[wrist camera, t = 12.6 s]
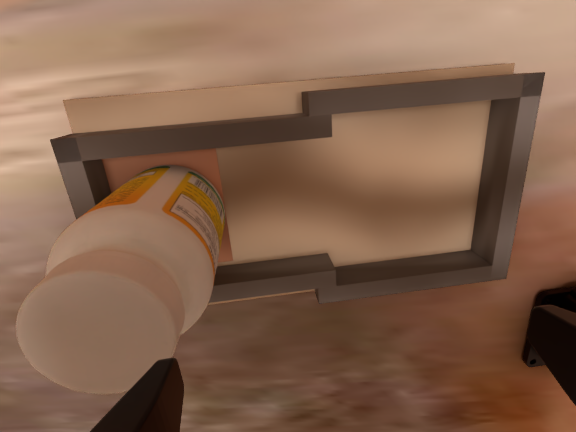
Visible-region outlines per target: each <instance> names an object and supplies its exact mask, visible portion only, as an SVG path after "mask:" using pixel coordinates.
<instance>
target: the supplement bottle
mask: <svg viewBox="0 0 576 432" xmlns="http://www.w3.org/2000/svg"><path fill="white" fill-rule="evenodd" d="M224 225H225V209H224V205H223V202H222V199H221V197H220V195H219V193H218V191H217V190H216V188H215V187H214V186H213V184H212V183H211V182H210V181H209V180H208V179H207V178H205V177H204V176H203V175H201V174H199V173H198V172H196V171H194V170H191V169H189V168H186V167H183V166H178V165H159V166H155V167H151V168H149V169H146V170H144V171H142V172H140V173H138V174H137V175H135V176H134V177H133V178H131V179H130V180H129V181H127V182H126V183H125V184H123V185H122V186H121V187H119V188H118V189H117V190H115V191H114V192H113V193H111V194H110V195H109V196H108V197H106V198H105V199H103V200H102V201H101V202H100V203H98V204H97V205H96V206H94V207H93V208H92V209H90V210H89V211H87V212H86V213H85V214H84V215H82V216H81V217H79V218H78V219H77V220H76V221H74V222H73V223H72V224H71V225H69V226H68V227H67V228H66V229H65V230H64V231H63V232H62V234H61V235H60V236H59V238H58V239H57V240H56V242H55V243H54V245H53V247H52V250H51V252H50V254H49V257H48V261H47V267H46V277H45V278H44V279H43V280H42V281H41V282H40V283H39V284H38V285H37V286H36V287H35V288H34V289H33V290H32V291H31V292H30V293H29V294H28V296H27V297H26V299H25V300H24V302H23V303H22V305H21V307H20V309H19V312H18V315H17V320H16V334H17V339H18V343H19V346H20V348H21V350H22V352H23V354H24V356H25V357H26V358H27V360H28V361H29V363H30V364H31V365H32V366H33V367H34V368H35V369H36V370H37V371H38V372H39V373H41V374H42V375H43V376H45V377H46V378H48V379H49V380H51V381H53V382H55V383H56V384H58V385H61V386H64V387H66V388H69V389H72V390H75V391H78V392H84V393H91V394H115V393H121V392H125V391H129V390H130V389H131V388H132V387H133V386H134V384H135V383H136V382H137V381H138V380H139V379H140V378H141V377H142V376H143V375H144V374H145V373H146V372H147V371H148V370H149V369H150V368H151V367H152V365H153V364H154V363H155V362H156V361H158V360H160V359H166V358H172V357H173V354H174V351H175V349H176V346H177V343H178V339H179V336H180V335H181V334H183V333H184V332H186V331H187V330H188V329H189V328H190V327H192V326H193V325H194V324H195V323H196V321H197V320H198V319H199V318H200V317H201V315H202V314H203V312H204V310H205V309H206V307H207V305H208V302H209V300H210V297H211V293H212V290H213V285H214V279H215V274H216V268H217V263H218V257H219V252H220V247H221V242H222V236H223V231H224Z"/></svg>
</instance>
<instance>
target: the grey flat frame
mask: <svg viewBox="0 0 576 432" xmlns="http://www.w3.org/2000/svg"><path fill="white" fill-rule="evenodd" d="M514 65H515V63H511V64H499V65H487V66H474V67H462V68H450V69H438V70H425V71H413V72H401V73H389V74H376V75H364V76H352V77H340V78H327V79H315V80H303V81H291V82H278V83H266V84H254V85H242V86H230V87H217V88H205V89H193V90H181V91H168V92H156V93H144V94H132V95H119V96H107V97H95V98H83V99H70V100H63V103H64V106H65V109H66V112H67V116H68V119H69V122H70V126H71V129H72V132H73V134H69V135H66V136H62V137H58V138H55V139H51V140H50V141H51V144H52V147H53V150H54V153H55V156H56V159H57V162H58V165H59V168H60V171H61V174H62V177H63V180H64V183H65V186H66V189H67V192H68V195H69V198H70V201H71V204H72V208H73V211H74V214H75V217H76V220H77V219H78V218H79V217H81V216H82V215H84V214H85V213H86V212H87V211H89V210H90V209H92V208H93V207H94V206H96V205H97V204H98V203H100V202H101V201H102V200H103V199H105V198H106V197H108V196H109V195H110V194H111V193H113V192H114V191H115V190H117V189H118V188H119V187H121V186H122V185H123V184H125V183H126V182H127V181H129V180H130V179H131V178H133V177H134V176H135V175H137V174H138V173H140V172H142V171H144V170H146V169H149V168H151V167H155V166H159V165H178V166H183V167H186V168H189V169H191V170H194V171H196V172H198V173H199V174H201V175H203V176H204V177H205V178H207V179H208V180H209V181H210V182H211V183H212V184H213V186H214V187H215V188H216V190H217V191H218V193H219V195H220V197H221V199H222V202H223V205H224V209H225V225H224V231H223V236H222V242H221V247H220V252H219V257H218V263H217V268H216V274H215V279H214V285H213V290H212V293H211V297H210V300H209V302H208V305H211V304H219V303H226V302H234V301H241V300H249V299H257V298H264V297H272V296H279V295H287V294H295V293H302V292H310V291H315V293H316V296H317V299H318V302H319V304H322V303H329V302H337V301H344V300H351V299H359V298H366V297H374V296H381V295H389V294H396V293H403V292H411V291H418V290H426V289H433V288H440V287H448V286H455V285H463V284H470V283H477V282H485V281H492V280H500V279H506V277H507V272H508V266H509V261H510V256H511V251H512V245H513V240H514V235H515V229H516V224H517V219H518V213H519V208H520V203H521V198H522V192H523V187H524V182H525V176H526V171H527V166H528V160H529V155H530V150H531V144H532V139H533V134H534V129H535V123H536V118H537V113H538V107H539V102H540V97H541V91H542V86H543V81H544V76H545V72H542V73H521V74H513V71H514Z"/></svg>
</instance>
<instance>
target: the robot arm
mask: <svg viewBox="0 0 576 432" xmlns="http://www.w3.org/2000/svg"><path fill="white" fill-rule="evenodd" d="M527 336H528V338H527V343H526V347H525V351H524V356H523V362H524V363H525V364H526V365H527V366H528V367H535V366H542V365H546V366H547V367H548V369H549V370H550V371H551V373H552V374H553V376H554V377H555V378H556V380H557V381H558V383H559V384H560V385H561V387H562V388H563V390H564V391H565V392H566V394H567V395H568V396H569V398H570V399H571V400H572V402H573V403H574V404H575V405H576V287H570V288H563V289H556V290H548V291H543V292H541V293H540V294H539V295H538V297H537V300H536V304H535V307H534V308H533V309H532V311H531V314H530V319H529V324H528V329H527ZM183 396H184V384H183V380H182V376H181V372H180V368H179V365H178V361H177V360H176V358H166V359H160V360H158V361H156V362H155V363H154V364H153V365H152V367H151V368H150V369H149V370H148V371H147V372H146V373H145V374H144V375H143V376H142V377H141V378H140V379H139V380H138V381H137V382H136V383H135V384H134V386H133V387H132V388H131V389H130V390H129V391H128V392H127V393H126V394H125V395H124V396H123V397H122V398H121V399H120V400H119V401H118V402H117V403H116V405H115V406H114V407H113V408H112V409H111V410H110V411H109V412H108V413H107V414H106V415H105V416H104V417H103V418H102V419H101V420H100V421H99V422H98V424H97V425H96V426H95V427H94V428H93V429H92V430H91V431H90V432H180V423H181V414H182V405H183Z"/></svg>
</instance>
